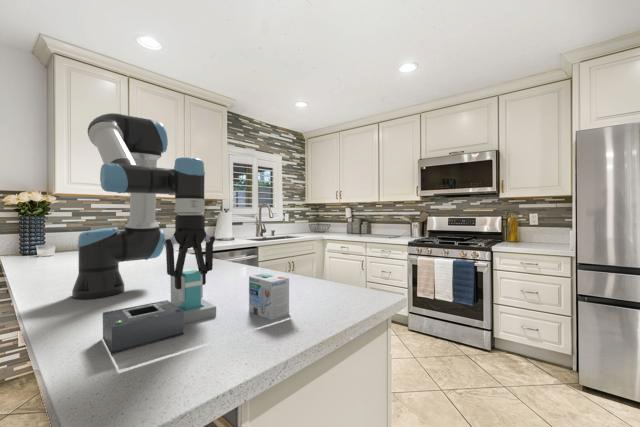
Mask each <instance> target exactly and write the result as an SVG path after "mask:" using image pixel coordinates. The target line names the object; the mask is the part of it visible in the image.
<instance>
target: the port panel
mask: <svg viewBox="0 0 640 427" xmlns="http://www.w3.org/2000/svg"><path fill="white" fill-rule="evenodd" d="M184 329H185V324H184V311H183V310H181V309H180V308H178V307H177V306H175V305H174V304H173V303H171V300H168V299H166V300H162V301H156V302H151V303H145V304H139V305H135V306H130V307H125V308H120V309H114V310H110V311H104V312H102V339H103V341H104V344H105V346H106V347H107V349H108V351H109V354H110V355H111V357H113V356H114V354H117V353H118V354H119V353H122V352H125V351H128V350H132V349H137V348H139V347H143V346H144V347H145V346H147V345H150V344H156V343H158V342H159V343H160V342H161V341H166V340H169V339H173V338H176V337H180V336H184V334H185V332H184V331H185V330H184Z"/></svg>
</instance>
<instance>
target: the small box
mask: <svg viewBox="0 0 640 427" xmlns="http://www.w3.org/2000/svg"><path fill="white" fill-rule="evenodd" d="M191 270H192V269H189V268H188V269H183V272H184V271H191ZM196 270H197V271H199V270H198V269H196ZM170 302H171V303H173V304H174V305H175V304H179V303H181V301H180V300H179V289H176V288H175V277H174V276H170Z"/></svg>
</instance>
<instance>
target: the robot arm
mask: <svg viewBox="0 0 640 427" xmlns="http://www.w3.org/2000/svg"><path fill="white" fill-rule="evenodd" d="M166 130H167V129H166V128H165V126H164V124H163V123H162V122H159V121H158V120H157V121H156V120H153V119H149V118H148V119H147V118H143V117H137V116H133V115H126V114H121V113H114V112H113V113H111V112H110V113H105V114H101V115H99V116H97V117H95V118H94V119H92V121H90V123H89V124H88V127H87V135H88V136H87V137H88V138H89V141H90V142H91V144H93V145H94V147H96V148H97V151H98V154H99V155H100V158H101V160H102V162H103V164H102V165H101V166H100V171H99V181H100V186H101V189H102V190H103V191H104V192H107V193H117V194H124V193H125V194H130V195H129V196H130V197H129V221H128V222H127V223H126V224H125V225H124V230H119V228H118V227H117V226H114V227H102V228H97V229H91V230H85V231H82V232H81V233H79V235H78V239H77V240H78V242H77V247H78V251H77V252H78V273H77V277H76V280H75V283H74V285H73V288H72V293H71V294H72V296H71V297H72V298H74V299H78V300H83V299H84V300H88V299H89V300H91V299H99V298H106V297H110V296H115V295H118V294H120V293H123V292H124V291H125V281H124V279H123V277H122V275H121V273H120V270H119V269H120V268H119V267H120V266H119V263H123V262H132V261H140V260H141V261H142V260H145V261H147V260H150V259H151V260H152V259H156V258H158V257H160V255H161V254H162V252H163V250H164V247H165V255H166V256H165V257H166V258H165V259H166V274H167V275H169V276H170V277H171V276H174V277H175V288H176V289H179V300H180V301H182V302H183V301H185V277H183V276H182V272H183V271H184V268H185V267H184V266H185V261H186V257H187V252H188V249H191V248H192V249H193V252H194V256H195V261H196V265H197V270H199V272H201V299H202V298H204V296H203V294H204V293H203V292H204V291H203V290H204V288H203V286H204V285H205V286H206V283H207V282H206V281H207V280H206V279H207V276H206V275H207V274H208V272H209V271H212V270H213V265H214V264H213V263H214V262H213V261H214V260H213V259H214V244H215V240H216V236H214V235H208V234H207V232H206V230H205V229H206V226H205V225H206V222H205V221H206V219H205V218H206V216H205V215H204V214H205V212H206V211H205V207H206V206H205V174H206V171H205V163H204V161H203V160H202V159H200V158H196V157H186V156H185V157H177V158H175V160H174V166H173V168H168V167H167V168H166V167H165V168H164V167H157V166H158V165H157V164H158V160H160V159H161V157H162V154H163V153H165V152H167V149H168V146H169V144H168V143H169V142H168V140H169V139H168V134H167V133H168V132H167V131H166ZM157 195H168V196H174V213H175V214H177V215H175V217H174V223H175V224H174V225H175V226H174V230H175V231H174V232H173V235H172V236H169V237H168V238H165V232H164V230H163V229H161V228H160V225H159V224H158V223H157V222H156V204H157V203H156V202H157ZM203 241H205V246H204V247H205V248H204V249H205V250H204V251H205V252H204V254H205V255H203V247H202V243H203ZM175 242H176V243H177V244H178V245H179V247H178V255H177V259H176V263H175V249H174V245H175Z"/></svg>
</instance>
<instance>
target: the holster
mask: <svg viewBox="0 0 640 427" xmlns="http://www.w3.org/2000/svg"><path fill="white" fill-rule="evenodd" d="M175 306H177V307H178V308H180V309H181V303H179V304H175ZM181 310H182V309H181ZM216 316H217V306H216V305H214V304H212V303H210V302H209V301H206V300H205V299H202V298H201V307H200V308H196V309H191V310H187V311H184V325H185V324H188V323H192V322H197V321H201V320H205V319H208V318H212V317H216Z"/></svg>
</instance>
